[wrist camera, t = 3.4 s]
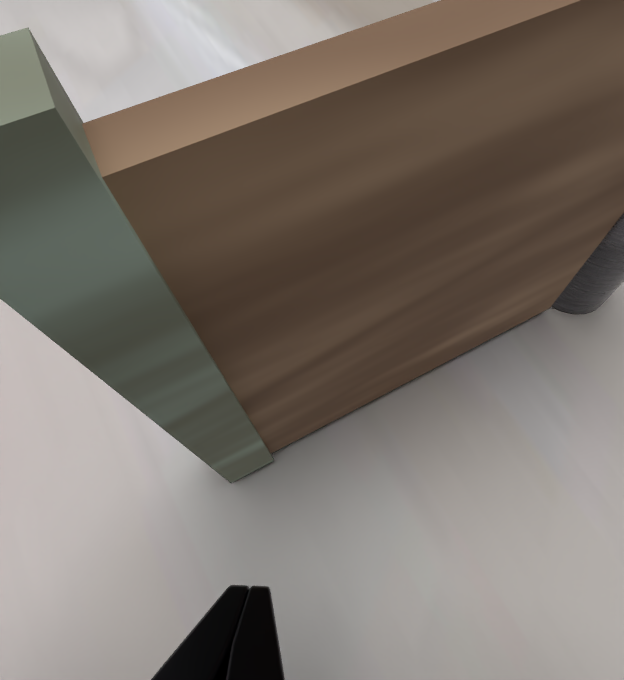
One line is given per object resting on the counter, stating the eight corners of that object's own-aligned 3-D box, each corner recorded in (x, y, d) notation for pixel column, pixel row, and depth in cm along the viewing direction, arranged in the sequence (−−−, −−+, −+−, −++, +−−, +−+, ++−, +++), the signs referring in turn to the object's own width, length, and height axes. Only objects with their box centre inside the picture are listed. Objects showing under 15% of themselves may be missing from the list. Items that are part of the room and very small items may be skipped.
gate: (554, 312, 18) (965, -197, 6) (231, 483, 16) (-152, 176, 4) (526, 284, 19) (840, -215, 7) (214, 441, 17) (-143, 77, 4)
